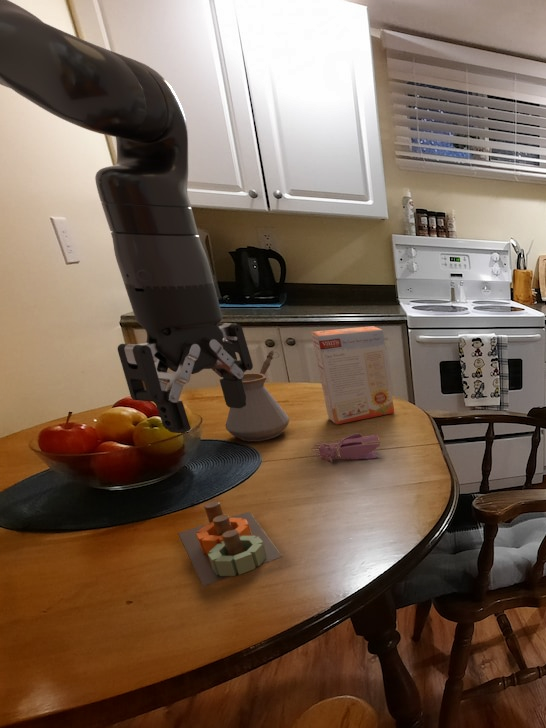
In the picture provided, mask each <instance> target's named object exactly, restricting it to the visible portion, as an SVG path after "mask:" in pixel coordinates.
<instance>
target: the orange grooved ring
mask: <svg viewBox="0 0 546 728" xmlns="http://www.w3.org/2000/svg"><path fill="white" fill-rule="evenodd" d="M229 519H230V523H231V526H232V529H233V530H237V531H238V532H239V535H240V536H252V534H251V531H250V527H249V524H248V522H247V521H246V519H243V518H229ZM209 523H210V522H209ZM209 523H206V524H204V525H205V526H204V527H203V528H201V529H200V530H199V531H197V534H196V535H197V538H198V541H199V544H200V547H201V549H202V551H203V553H206V555H208V554H209V551H210V550H211V549H212V548H214V547H215V546H216V545H217V544H222V543H221V542H222V541H223V538H222V535H221V536H218V535H217V532H216V529H215V526H214V523H213V522H211V523H210V524H209Z"/></svg>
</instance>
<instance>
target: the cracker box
mask: <svg viewBox="0 0 546 728" xmlns="http://www.w3.org/2000/svg"><path fill="white" fill-rule="evenodd" d="M310 333H311V339H312V343H313V348H314V354H315V359H316V363H317V364H316V365H317V368H318V374H319V379H320V383H321V388H322V393H323V397H324V402H325V407H326V412H327V416H328V419H329V420H330V421H331V422H332V423H333V424H334V425H336V426H337V425H342V424H346V423H352V422H356V421H360V420H365V419H370V418H376V417H381V416H385V415H391V414H395V405H394V400H393V399H394V398H393V392H392V386H391V378H390V371H389V363H388V356H387V350H386V343H385V336H384V335H385V334H384V330H383V329H381V328H379V327H377V326H374V325H371V326H360V327H350V328H348V327H347V328H338V329H326V330H318V331H316V330H315V331H311V332H310Z"/></svg>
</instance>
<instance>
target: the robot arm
mask: <svg viewBox="0 0 546 728" xmlns="http://www.w3.org/2000/svg"><path fill="white" fill-rule="evenodd" d="M0 85H1V86H3V87H6V88H9V89H10V90H12V91H14V92H15V93H17V94H18V95H20V96H21V97H23V98H25V99H26V100H27V101H30V102H31V103H32V104H34V105H36V106H38V107H39V108H41V109H42V110H44V111H46V112H47V113H50V114H51V115H53V116H55V117H57V118H58V119H62V120H63V121H66V122H67V123H70V124H72V125H75V126H77V127H80V128H82V129H85V130H87V131H91V132H92V133H93V132H94V133H97V134H100V135H105V136H109V137H115V142H116V143H115V144H116V163H115V164H114V165H110V166H105V167H102V168H100V169H98V171H97V172H96V173H95V177H94V178H95V180H94V181H95V186H96V189H97V193H98V197H99V200H100V202H101V203H100V204H101V206H102V210H103V213H104V216H105V219H106V222H107V225H108V229H109V230H110V234H111V238H112V244H113V245H112V246H113V252H114V256H115V259H116V263H117V265H118V269H119V272H120V274H121V275H120V276H121V278H122V281H123V284H124V288H125V291H126V293H127V296H128V300H129V303H130V306H131V309H132V312H133V315H134V318H135V321H136V322H137V324H139V326H141V327H142V328H143V329H144V330H145V333H146V341H145V342H144V343H137V344H136V343H120V344H119V345H118V346H117V352H118V357H119V361H120V363H121V367H122V371H123V374H124V378H125V381H126V384H127V388H128V391H129V395H130V398H131V399H132V400H133V401H138V402H151V403H154V404H155V406H156V409H157V412H158V415H159V418H160V421H161V424H162V427H163V428H164V429H165V430H167V431H168V432H169V433H173V434H186V433H188V432H190V431H191V429H192V428H191V426H190V421H189V419H188V415H187V412H186V409H185V406H184V402H183V400H180V397H181V394H182V391H183V388H184V386H185V385H186V384H188V383H189V382H190V379H191V376H192V375H195V374H198V373H200V372H201V371H203V370H210V369H211V370H212V371H213V372H214V373H215V374H216V375H218V376H219V377H220V379H219V382H220V387H221V391H222V394H223V398H224V402H225V405H226V406H227V407H228V408H229V409H230V408H243V407H245V406H246V395H245V391H244V387H243V383H242V378H243V376H244V374H245V373H246V372H247V371H252V369H253V368H254V364H253V360H252V358H251V357H252V356H251V354H250V351H249V346H248V344H247V340H246V337H245V333H244V330H243V327H242V325H241V324H239V323H229V322H228V323H227V322H222V321H223V312H222V310H221V305H220V302H219V297H218V293H217V289H216V286H215V281H214V278H213V274H212V270H211V266H210V261H209V259H208V255H207V253H206V251H205V248H204V246H203V244H202V241H201V237H200V235H199V231H198V227H197V223H196V220H195V215H194V212H193V208H192V204H191V200H190V197H189V194H188V181H189V132H188V131H189V130H188V125H187V120H186V116H185V112H184V109H183V107H182V104H181V103H180V101H179V98H178V96H177V95H176V92H175V91H174V89H173V88H172V86H171V85H170V84H169V82H168V81H167V79H165V78H164V77H163V76H162V75H161V73H159V72H158V71H156V70H155V69H154V68H153V67H150V66H149V65H147V64H145V63H143V62H140V61H138V60H137V59H134V58H131V57H128V56H125V55H123V54H120V53H118V52H115V51H112V50H110V49H108V48H104V47H103V46H99V45H97V44H95V43H92V42H90V41H87V40H84V39H82V38H80V37H77V36H75V35H73V34H71V33H68V32H65V31H64V30H61V29H59V28H56V27H54V26H52V25H50V24H47V23H46V22H44V21H43V20H41V19H40V18H39V17H37V16H36V15H35V14H33V13H31V12H30V11H28V10H27V9H25V8H23V7H21V6H20V5H18V4H16V3H14V2H13V1H11V0H0ZM236 353H237V354H238V356H239V359H238V356H237V354H236ZM168 370H171V371H172V372H168ZM166 388H167V389H166Z"/></svg>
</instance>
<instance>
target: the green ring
mask: <svg viewBox="0 0 546 728" xmlns="http://www.w3.org/2000/svg"><path fill="white" fill-rule="evenodd" d="M240 538H241V542H242V545H243V548H244V551H245V552H243V553H240V554H237V555H234V556H228V553H227V550H226V547H225V544H224V541H222V542H221V543H222V544H217V545H216V546H215V547H214V548H212V549H211V550H210V551H209V554H208V557H209V560H210V562H211V565H212V568H213V570H214V572H215V573H216V575H220V576H230V577H236V575H238V576H241V575H243V574H246V573H248V572H250V571H253V570H256V567H255V566H257V567H260V566H262V565H261V563H262V562H263V561H264V560H265V559H266V556H267V555H266V551H265V547H264V544H263V541H262V540H261V539H260V538H259V537H256V536H240ZM237 573H238V574H237Z"/></svg>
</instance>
